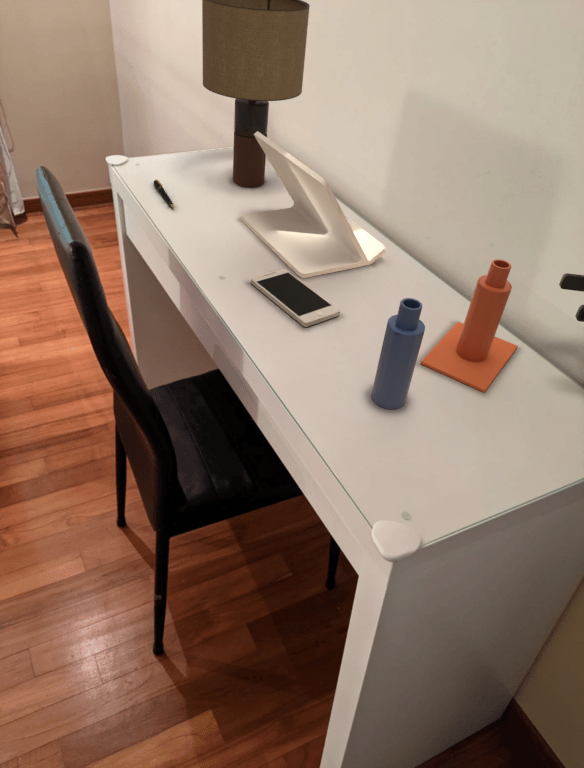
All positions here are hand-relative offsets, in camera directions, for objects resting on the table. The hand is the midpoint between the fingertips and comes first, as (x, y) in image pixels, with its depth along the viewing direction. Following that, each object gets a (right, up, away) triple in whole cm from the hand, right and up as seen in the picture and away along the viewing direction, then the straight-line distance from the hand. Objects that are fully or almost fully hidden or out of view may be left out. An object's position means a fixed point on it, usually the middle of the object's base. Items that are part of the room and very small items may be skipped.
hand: (569, 296), depth 84 cm
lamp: (-48, +33, +53) cm, 79 cm away
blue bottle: (-25, -14, -2) cm, 29 cm away
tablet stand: (-35, +16, +33) cm, 51 cm away
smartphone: (-38, +2, +16) cm, 41 cm away
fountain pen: (-65, +27, +43) cm, 82 cm away
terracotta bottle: (-11, -7, +8) cm, 16 cm away
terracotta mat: (-12, -8, +8) cm, 16 cm away
